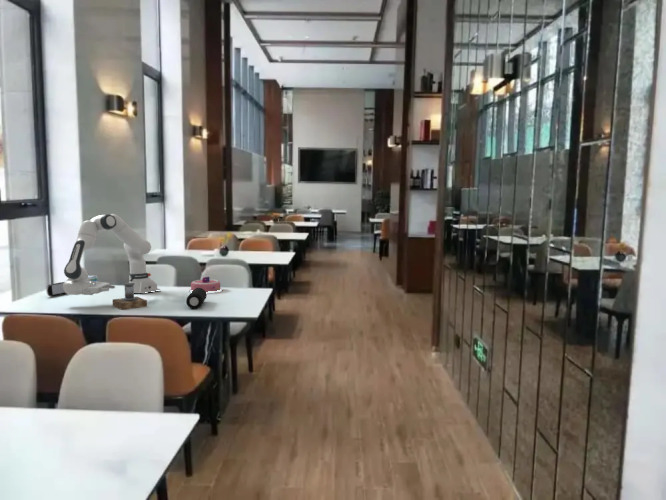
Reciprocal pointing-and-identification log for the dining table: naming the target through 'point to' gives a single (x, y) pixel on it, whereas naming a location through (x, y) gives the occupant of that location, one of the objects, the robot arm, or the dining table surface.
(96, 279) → the light bulb box
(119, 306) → the stand
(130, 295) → the cylinder
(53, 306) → the dining table surface
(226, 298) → the dining table surface
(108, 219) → the robot arm
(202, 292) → the portable speaker
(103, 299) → the dining table surface
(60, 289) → the gaming console
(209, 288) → the cake
